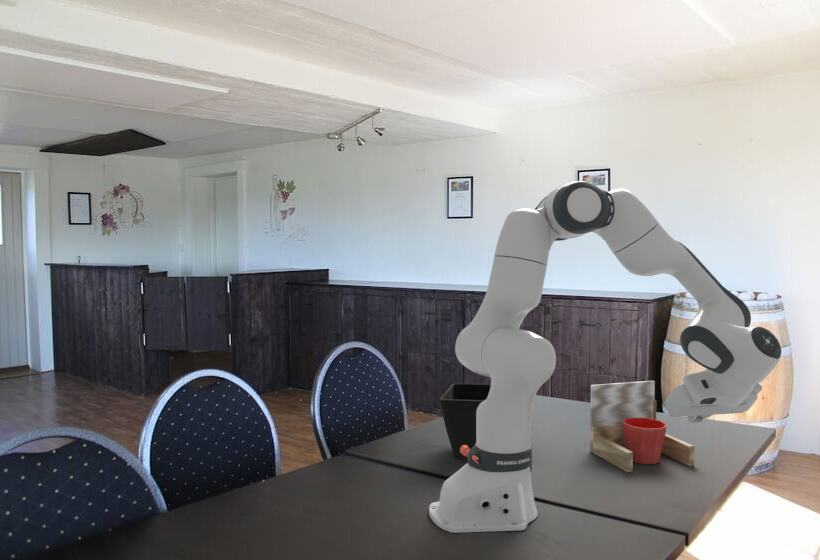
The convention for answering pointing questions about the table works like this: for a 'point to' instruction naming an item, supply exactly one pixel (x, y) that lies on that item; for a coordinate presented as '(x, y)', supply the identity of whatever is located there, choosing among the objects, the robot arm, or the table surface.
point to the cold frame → (617, 406)
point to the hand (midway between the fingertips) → (693, 419)
